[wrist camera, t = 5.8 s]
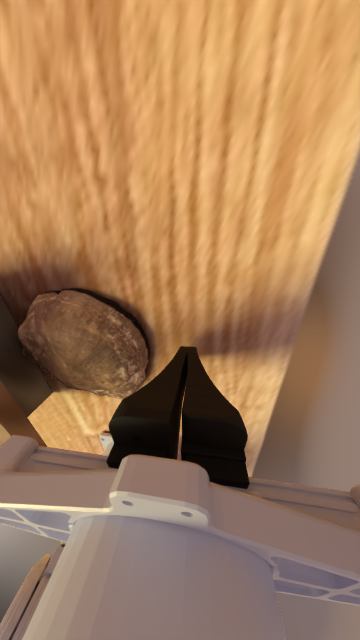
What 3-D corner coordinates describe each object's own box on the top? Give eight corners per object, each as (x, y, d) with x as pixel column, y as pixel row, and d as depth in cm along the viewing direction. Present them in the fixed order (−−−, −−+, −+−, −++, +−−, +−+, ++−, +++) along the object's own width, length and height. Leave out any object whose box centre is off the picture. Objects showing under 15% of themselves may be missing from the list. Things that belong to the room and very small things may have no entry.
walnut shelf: (87, 396, 18) (34, 464, 13) (44, 392, 19) (-25, 454, 13) (41, 281, 13) (-97, 308, 7) (-19, 280, 13) (-192, 304, 7)
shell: (41, 254, 12) (-17, 255, 9) (175, 333, 14) (167, 359, 10) (27, 349, 17) (-14, 373, 14) (128, 400, 18) (112, 431, 15)
